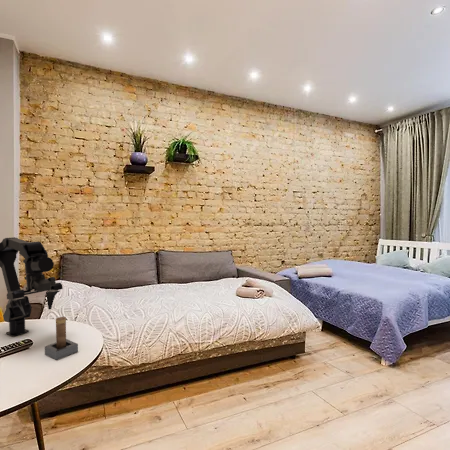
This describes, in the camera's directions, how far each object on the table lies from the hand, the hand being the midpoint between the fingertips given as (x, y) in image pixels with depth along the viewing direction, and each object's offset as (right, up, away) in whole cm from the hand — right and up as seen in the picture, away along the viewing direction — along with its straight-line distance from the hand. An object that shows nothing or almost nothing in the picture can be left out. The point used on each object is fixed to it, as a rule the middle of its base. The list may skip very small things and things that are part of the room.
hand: (38, 312), depth 124 cm
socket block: (+14, -13, -9) cm, 21 cm away
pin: (+14, -13, -9) cm, 21 cm away
